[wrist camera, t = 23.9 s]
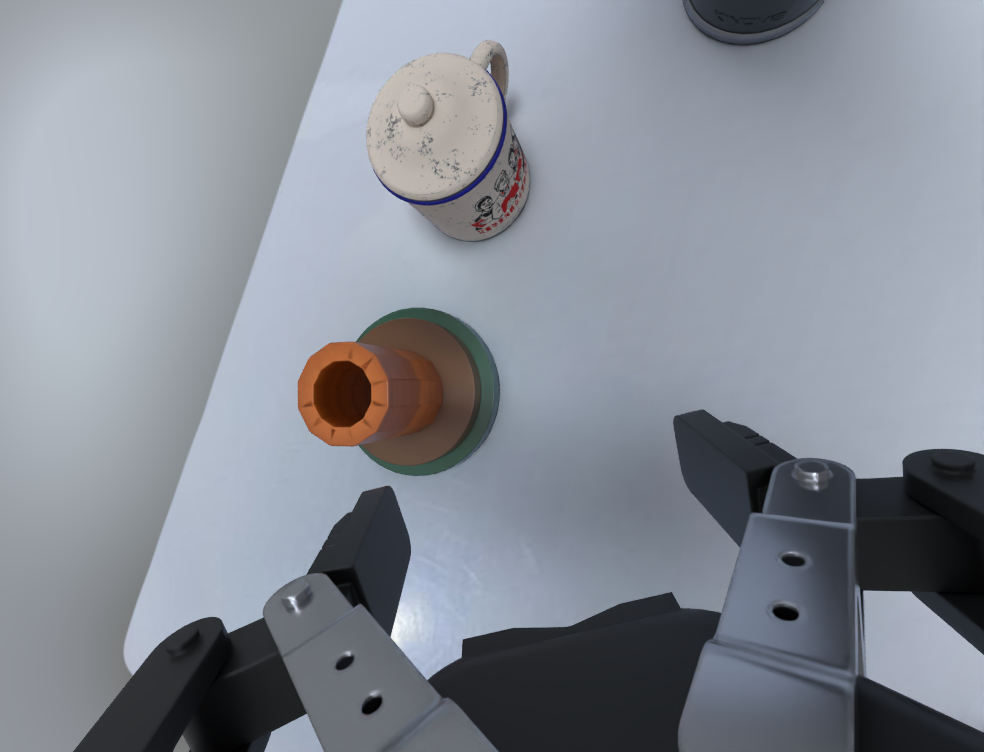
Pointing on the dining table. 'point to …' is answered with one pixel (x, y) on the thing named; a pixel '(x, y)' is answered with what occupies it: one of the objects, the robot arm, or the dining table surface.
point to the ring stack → (463, 390)
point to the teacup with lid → (451, 142)
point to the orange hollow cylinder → (367, 393)
